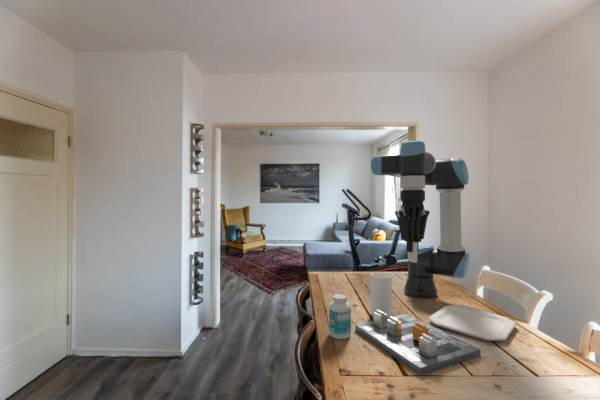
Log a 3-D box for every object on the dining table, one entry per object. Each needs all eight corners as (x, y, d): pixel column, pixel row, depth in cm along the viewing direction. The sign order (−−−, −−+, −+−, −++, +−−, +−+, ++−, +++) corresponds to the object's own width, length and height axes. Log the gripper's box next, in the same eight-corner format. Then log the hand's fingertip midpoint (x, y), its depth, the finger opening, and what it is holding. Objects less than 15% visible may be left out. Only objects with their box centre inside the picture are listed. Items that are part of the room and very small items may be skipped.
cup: (392, 319, 117) (392, 278, 117) (370, 317, 119) (370, 277, 119) (390, 311, 125) (390, 272, 125) (370, 309, 127) (370, 271, 127)
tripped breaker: (419, 335, 98) (419, 321, 98) (428, 340, 95) (428, 325, 94) (412, 337, 97) (412, 322, 97) (421, 342, 93) (421, 327, 93)
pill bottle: (327, 330, 107) (327, 292, 107) (347, 330, 108) (347, 292, 108) (331, 340, 100) (331, 300, 100) (353, 339, 100) (353, 299, 100)
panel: (406, 318, 117) (406, 300, 117) (480, 355, 90) (480, 331, 90) (355, 330, 108) (355, 310, 107) (420, 375, 80) (420, 348, 80)
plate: (448, 308, 130) (448, 303, 130) (518, 325, 112) (518, 319, 112) (424, 325, 112) (424, 319, 112) (502, 349, 95) (502, 342, 94)
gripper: (418, 189, 104) (418, 257, 105) (389, 189, 99) (388, 261, 99) (436, 189, 98) (436, 262, 98) (405, 189, 92) (405, 265, 92)
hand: (412, 261), depth 99 cm, fingers closed
